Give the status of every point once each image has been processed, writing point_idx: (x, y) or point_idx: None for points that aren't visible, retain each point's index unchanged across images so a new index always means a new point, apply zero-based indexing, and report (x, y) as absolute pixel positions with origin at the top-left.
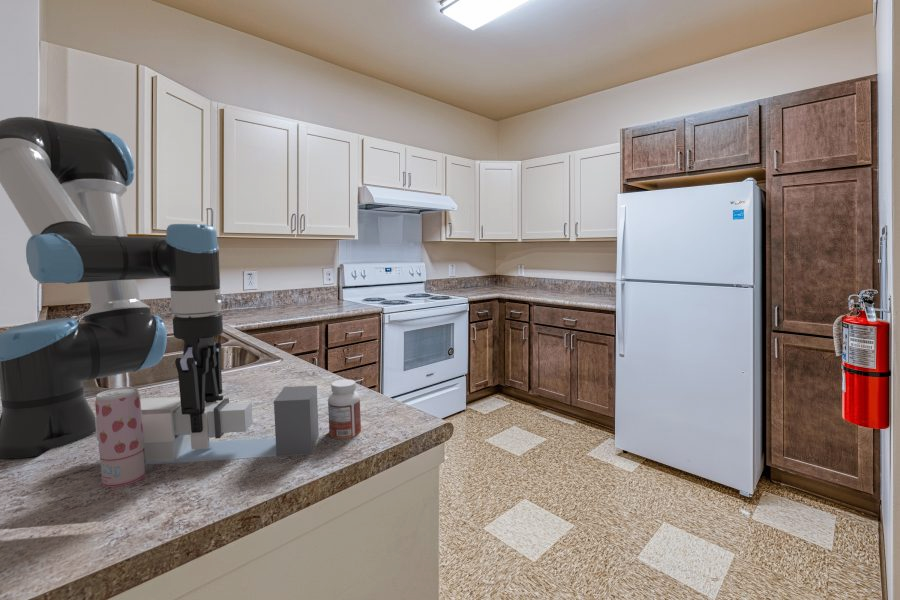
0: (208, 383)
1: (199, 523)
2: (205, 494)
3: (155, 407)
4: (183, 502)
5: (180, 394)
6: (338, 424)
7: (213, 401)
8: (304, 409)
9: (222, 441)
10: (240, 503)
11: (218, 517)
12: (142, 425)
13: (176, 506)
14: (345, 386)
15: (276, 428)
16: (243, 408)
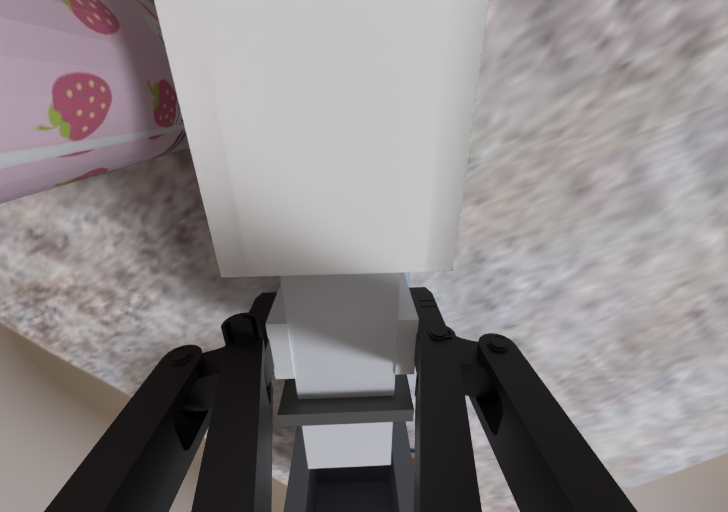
0: (416, 452)
1: (55, 343)
2: (154, 316)
3: (237, 178)
4: (115, 287)
5: (85, 460)
6: None
7: (414, 363)
8: None
9: (404, 273)
10: (135, 381)
11: (83, 364)
12: (92, 173)
13: (97, 281)
14: None
15: (290, 474)
16: (321, 463)
